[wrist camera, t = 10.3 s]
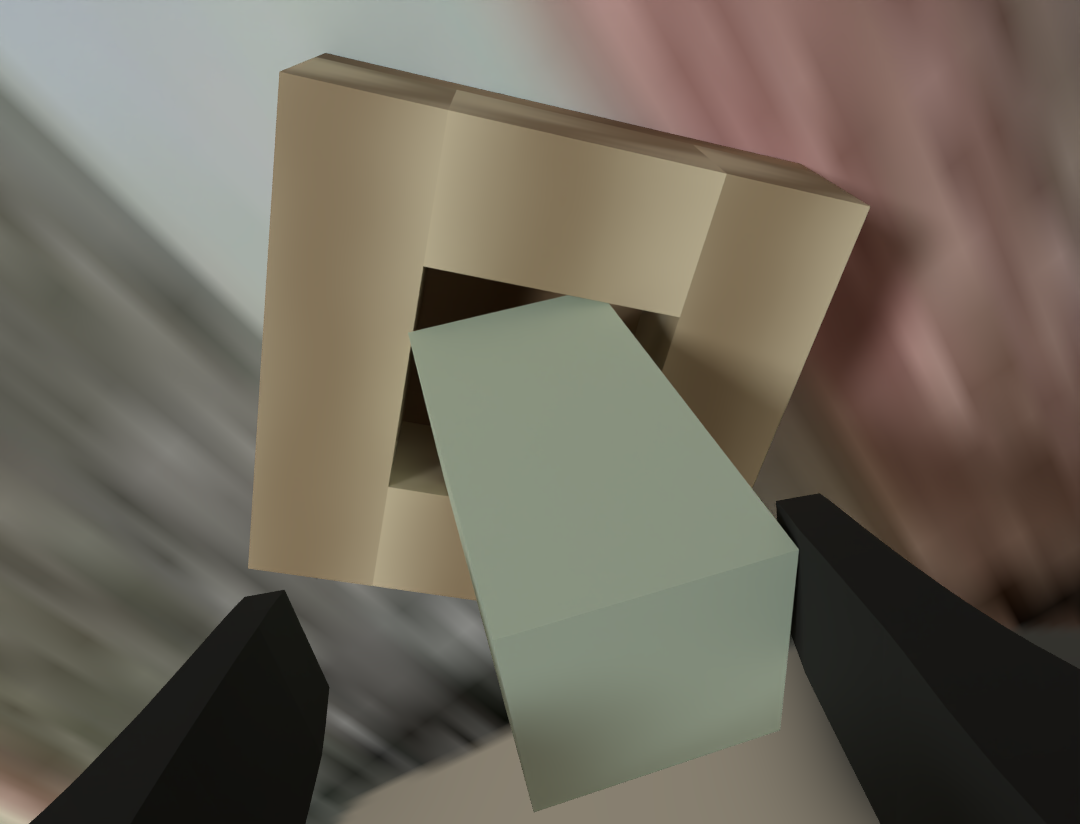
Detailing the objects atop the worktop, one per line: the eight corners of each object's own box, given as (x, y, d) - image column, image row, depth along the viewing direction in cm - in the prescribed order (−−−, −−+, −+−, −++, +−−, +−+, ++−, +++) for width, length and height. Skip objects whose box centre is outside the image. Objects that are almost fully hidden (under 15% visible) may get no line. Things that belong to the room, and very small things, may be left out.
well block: (800, 164, 18) (870, 206, 15) (664, 534, 24) (692, 630, 20) (325, 53, 17) (279, 71, 13) (288, 475, 22) (247, 568, 18)
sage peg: (597, 288, 16) (798, 549, 10) (609, 439, 19) (779, 730, 12) (408, 332, 16) (492, 640, 9) (445, 482, 18) (533, 812, 12)
